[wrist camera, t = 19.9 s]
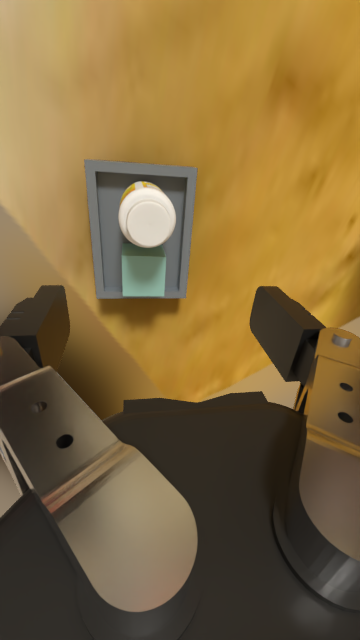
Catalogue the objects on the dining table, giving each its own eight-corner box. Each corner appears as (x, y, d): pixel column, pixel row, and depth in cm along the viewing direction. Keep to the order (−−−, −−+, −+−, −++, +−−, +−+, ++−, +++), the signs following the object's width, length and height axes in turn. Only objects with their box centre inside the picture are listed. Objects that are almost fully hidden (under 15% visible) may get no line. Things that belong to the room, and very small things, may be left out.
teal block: (162, 244, 36) (166, 256, 32) (160, 280, 39) (164, 296, 34) (122, 243, 35) (121, 255, 31) (123, 280, 38) (122, 296, 34)
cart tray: (190, 166, 34) (197, 168, 31) (181, 286, 42) (185, 298, 39) (89, 158, 32) (84, 159, 29) (99, 286, 40) (96, 298, 37)
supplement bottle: (125, 233, 35) (124, 259, 26) (115, 183, 32) (110, 195, 23) (169, 226, 35) (182, 251, 27) (164, 177, 32) (176, 187, 24)
